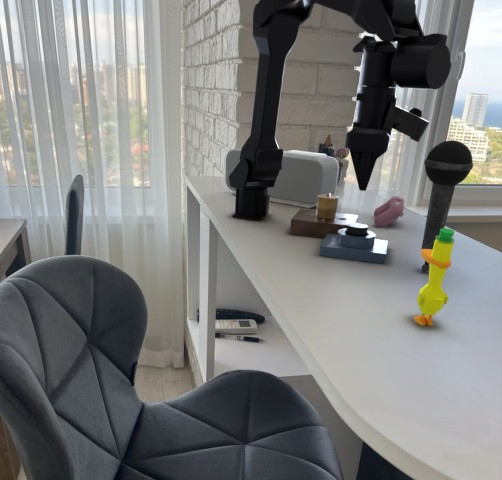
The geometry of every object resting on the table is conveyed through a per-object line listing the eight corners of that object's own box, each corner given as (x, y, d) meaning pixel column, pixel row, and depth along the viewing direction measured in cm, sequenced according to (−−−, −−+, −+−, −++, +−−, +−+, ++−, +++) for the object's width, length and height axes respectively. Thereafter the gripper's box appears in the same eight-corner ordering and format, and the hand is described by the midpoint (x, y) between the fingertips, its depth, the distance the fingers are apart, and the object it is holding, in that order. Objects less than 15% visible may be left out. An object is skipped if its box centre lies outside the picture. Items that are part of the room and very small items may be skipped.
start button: (344, 236, 87) (346, 226, 86) (346, 231, 90) (348, 221, 89) (366, 239, 86) (367, 229, 85) (367, 234, 89) (368, 224, 89)
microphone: (424, 281, 78) (455, 143, 69) (394, 267, 83) (418, 137, 74) (456, 276, 81) (489, 143, 72) (425, 263, 86) (452, 137, 77)
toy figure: (398, 311, 66) (416, 220, 61) (424, 310, 67) (444, 220, 62) (421, 333, 60) (444, 235, 55) (449, 333, 61) (473, 235, 56)
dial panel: (289, 234, 98) (291, 218, 97) (299, 222, 107) (300, 207, 106) (351, 241, 96) (353, 225, 94) (355, 229, 105) (358, 214, 103)
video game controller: (390, 235, 107) (410, 207, 104) (372, 224, 107) (392, 195, 104) (388, 224, 116) (407, 198, 113) (371, 214, 116) (390, 187, 113)
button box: (319, 255, 87) (321, 235, 85) (326, 242, 95) (328, 223, 93) (384, 263, 84) (388, 243, 83) (386, 249, 92) (389, 230, 91)
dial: (334, 219, 98) (337, 197, 96) (314, 217, 99) (316, 195, 97) (336, 215, 102) (339, 193, 100) (317, 213, 102) (319, 191, 100)
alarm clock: (335, 204, 126) (341, 154, 121) (318, 210, 119) (324, 157, 114) (243, 188, 139) (245, 143, 134) (224, 193, 132) (225, 145, 127)
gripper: (435, 89, 68) (413, 206, 75) (429, 90, 84) (411, 186, 91) (352, 85, 70) (338, 198, 77) (362, 86, 87) (349, 180, 94)
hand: (362, 190), depth 85 cm, fingers closed
